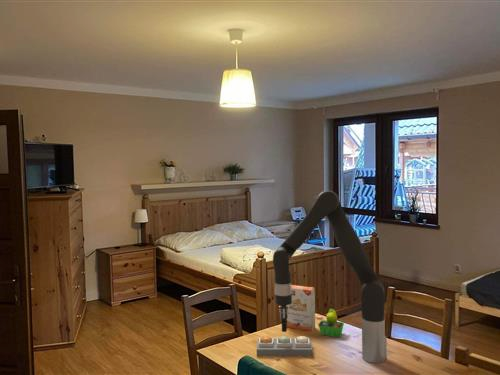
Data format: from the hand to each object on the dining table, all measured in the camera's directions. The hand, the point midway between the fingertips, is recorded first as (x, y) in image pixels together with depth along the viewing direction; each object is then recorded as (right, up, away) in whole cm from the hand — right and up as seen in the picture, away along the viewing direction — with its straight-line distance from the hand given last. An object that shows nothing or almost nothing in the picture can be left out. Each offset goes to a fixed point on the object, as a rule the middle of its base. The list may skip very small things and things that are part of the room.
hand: (284, 331), depth 196 cm
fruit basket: (+24, -8, +19) cm, 32 cm away
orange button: (-8, -5, +1) cm, 10 cm away
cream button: (+8, -5, 0) cm, 9 cm away
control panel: (0, -9, +1) cm, 9 cm away
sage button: (0, -5, 0) cm, 5 cm away
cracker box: (+10, -7, +28) cm, 30 cm away
